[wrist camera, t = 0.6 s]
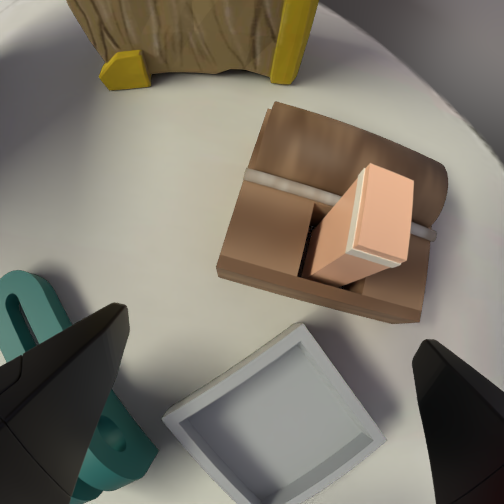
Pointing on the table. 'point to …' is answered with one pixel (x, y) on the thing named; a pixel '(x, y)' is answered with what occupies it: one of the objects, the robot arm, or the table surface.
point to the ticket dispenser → (325, 212)
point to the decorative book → (195, 37)
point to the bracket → (114, 413)
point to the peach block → (362, 230)
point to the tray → (276, 423)
